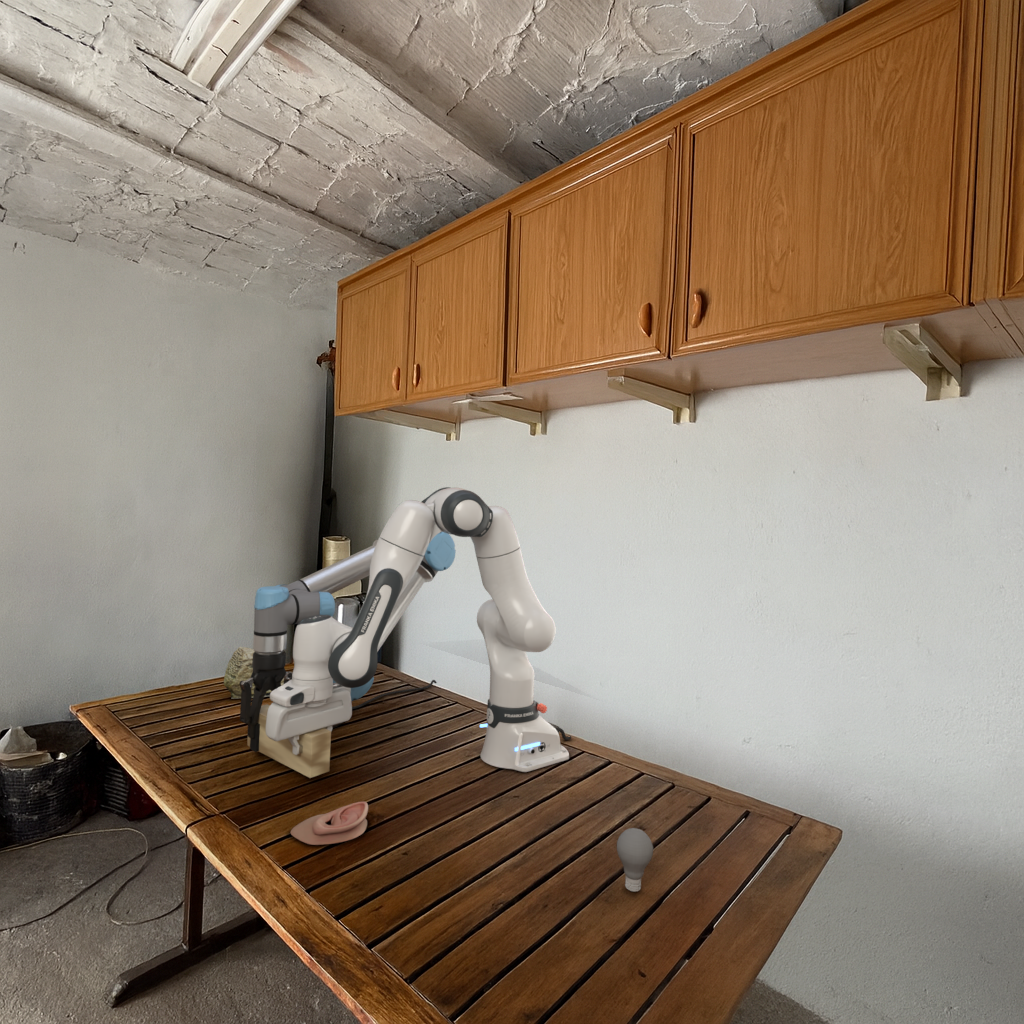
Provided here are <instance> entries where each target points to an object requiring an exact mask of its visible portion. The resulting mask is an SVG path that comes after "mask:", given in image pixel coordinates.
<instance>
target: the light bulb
mask: <svg viewBox="0 0 1024 1024" xmlns="http://www.w3.org/2000/svg"><path fill="white" fill-rule="evenodd" d="M616 852H617V856H618V858H619V860H620V862H621V864H622V866H623V872H624V875H625V882H624V887H625V889H627V890H628V891H630V892H633V893H634V892H635V893H636V892H639V891H641V889H642V878H643V876H644V875H645V869H646V868H647V867H648V865H649V864H650V862H651V860H652V858H653V855H654V845H653V842H652V840H651V838H650V836H649V835H648V834H647V832H645V831H644V830H642V829H640V828H636V827H629V828H627V829H625V830H624V831H623V832H622V833H620V835H619V836H618V839H617V841H616Z"/></svg>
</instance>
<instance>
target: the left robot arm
mask: <svg viewBox="0 0 1024 1024" xmlns="http://www.w3.org/2000/svg"><path fill="white" fill-rule="evenodd" d="M378 539H379V538H378ZM378 539H375V540H374V541H373V542H372V545H371V546H368V547H366V548H364V549H362V550H360V551H358V552H356V553H353V554H352V555H349V556H347V557H345V558H342V559H341V560H338V561H336V562H334V563H332V564H330V565H328V566H325V567H323V568H322V569H319V570H317V571H315V572H313V573H311V574H309V575H307V576H305V577H302V578H300V579H298V580H295V581H293V582H291V583H289V584H276V585H274V586H273V585H269V586H268V585H267V586H261V587H259V588H258V589H257V590H256V592H255V597H254V605H253V609H254V610H253V611H254V613H253V615H254V616H253V617H254V619H253V640H252V641H253V644H252V649H253V650H254V651H255V652H254V653H253V660H252V668H253V673H252V675H251V678H249V679H248V680H246V681H243V680H242V681H240V683H239V684H240V687H241V698H240V707H239V722H241V723H243V724H245V725H247V738H248V737H249V738H250V747H249V749H250V750H251V751H253V752H254V753H258V752H259V736H260V724H259V723H257V720H258V717H259V713H260V709H261V706H263V701H264V699H265V697H264V696H265V695H266V692H267V691H268V690H271V691H273V690H275V689H277V688H278V687H280V686H281V681H282V680H283V678H284V684H285V683H287V682H288V681H290V680H291V679H292V673H293V671H290V670H288V671H286V668H285V666H286V663H287V652H286V649H287V641H288V640H287V639H288V626H292V625H298V624H299V623H300V622H301V621H302V620H303V619H305V618H308V617H311V616H315V615H330V616H332V617H333V618H334V615H335V613H336V612H335V611H336V601H335V598H334V596H333V595H334V593H337V592H339V591H341V590H343V589H345V588H347V587H349V586H351V585H354V584H355V583H357V582H359V581H361V580H363V579H366V578H367V577H370V565H371V560H372V556H373V553H374V549H375V546H376V544H377V541H378ZM455 558H456V543H455V541H454V539H453V537H452V536H451V534H447V533H445V532H441V533H438V534H437V535H436V536H435V537H434V538H433V539H432V540H431V542H430V543H429V545H428V547H427V550H426V552H425V555H424V557H423V559H422V561H421V563H420V565H419V567H418V569H417V571H416V572H415V574H414V576H413V577H412V579H411V580H410V582H409V583H408V585H407V586H406V588H405V589H404V591H403V592H402V594H401V595H400V597H399V599H398V600H397V602H396V604H395V606H394V608H393V610H392V612H391V615H390V617H389V619H388V622H387V624H386V627H385V629H384V631H383V634H382V636H381V638H380V641H379V644H378V649H377V653H378V652H379V650H380V649H381V647H382V646H383V645H384V643H385V642H386V640H387V638H388V637H389V636H390V634H391V633H392V631H393V630H394V628H395V627H396V625H397V624H398V623H399V621H400V620H401V618H402V616H403V615H404V614H405V612H406V610H408V607H409V606H410V604H411V603H412V602H413V600H414V598H415V597H416V596H417V594H418V592H419V591H420V590H421V588H422V587H423V585H424V584H425V583H429V582H432V581H433V580H434V579H435V577H436V575H437V574H438V572H443V571H446V570H448V569H450V567H452V565H453V563H454V561H455ZM374 681H375V677H374V676H373V678H372V679H371V680H370V681H369V682H368V683H366V684H364V685H362V686H360V687H356V688H351V694H350V695H351V702H353V701H354V702H355V701H357V700H359V699H361V698H362V697H363V696H365V695H366V693H368V692H369V690H370V689H371V688H372V686H373V684H374ZM253 683H254V685H255V688H254V696H253V698H251V694H252V692H251V688H252V684H253ZM333 683H336V682H335V681H334V680H333ZM437 683H438V682H437V681H436V680H435V679H432V680H431V681H430V682H429V684H428V685H426V686H421V687H414V688H407V689H401V690H393V691H389V692H385V693H381V694H379V695H377V696H374V697H372V698H370V699H367V700H366V701H364V702H362V703H360V704H358V705H354V706H353V705H352V710H355V709H359V708H361V707H364V706H365V705H367V704H369V703H371V702H373V701H376V700H377V699H380V698H382V697H386V696H390V695H394V694H402V693H408V692H414V691H422V690H426V689H429V688H431V687H432V685H433V684H437ZM260 690H261V691H260ZM340 725H342V723H338V724H335V725H333V727H332V730H333V729H335V728H337V727H339V726H340Z"/></svg>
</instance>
